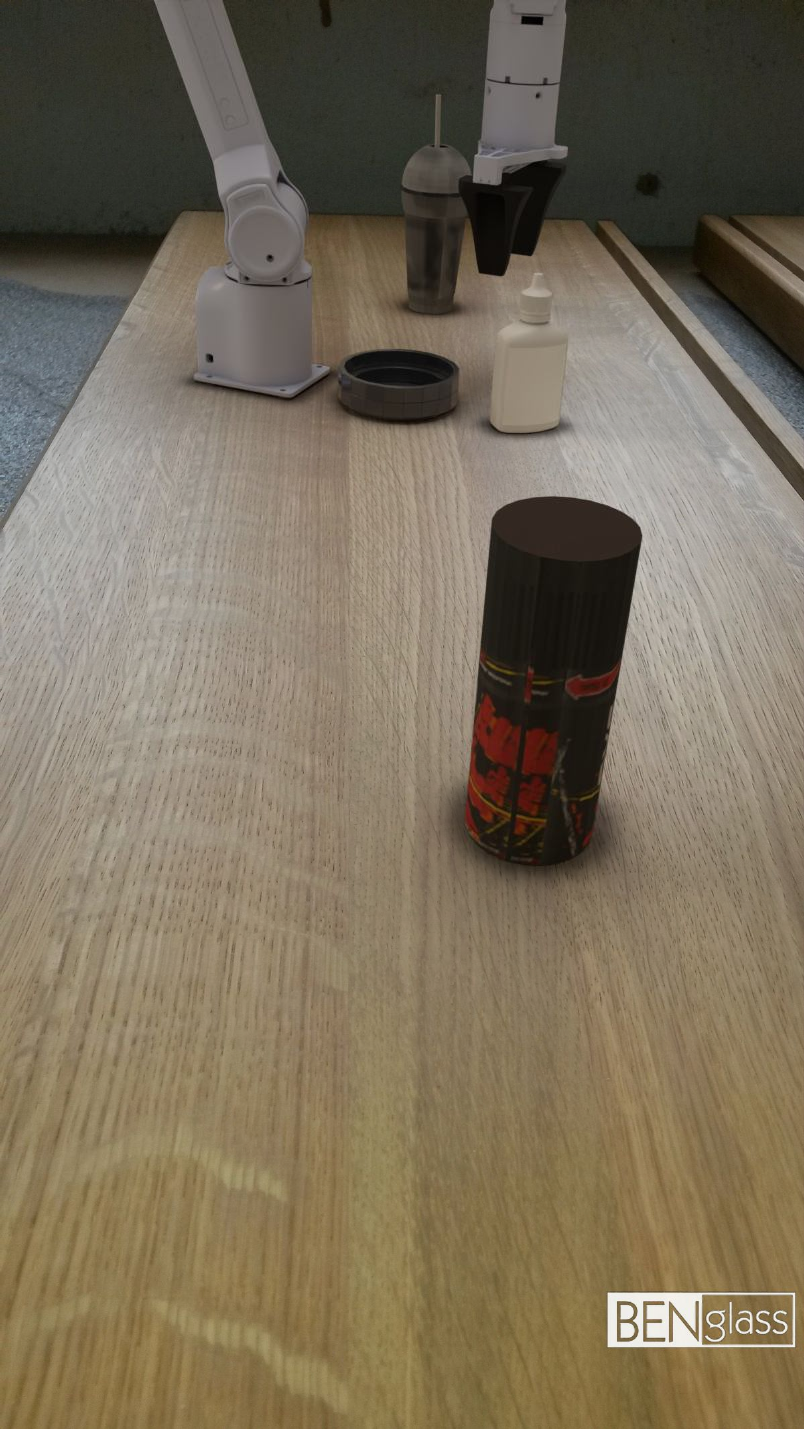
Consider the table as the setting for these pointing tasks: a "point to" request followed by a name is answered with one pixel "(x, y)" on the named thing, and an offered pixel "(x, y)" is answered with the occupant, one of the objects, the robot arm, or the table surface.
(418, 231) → the beverage cup
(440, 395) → the dish
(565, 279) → the table surface
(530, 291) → the eye dropper bottle
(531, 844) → the deodorant
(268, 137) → the robot arm
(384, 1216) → the table surface
